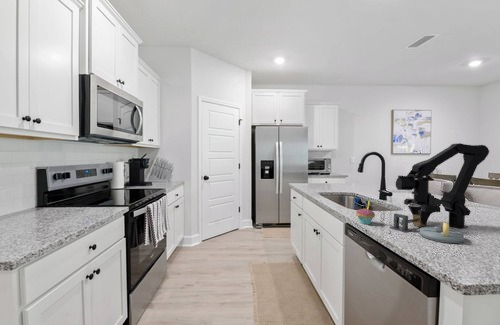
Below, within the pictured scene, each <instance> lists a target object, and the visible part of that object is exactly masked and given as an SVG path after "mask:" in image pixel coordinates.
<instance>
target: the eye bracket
mask: <svg viewBox="0 0 500 325" xmlns="http://www.w3.org/2000/svg"><path fill="white" fill-rule="evenodd" d="M400 218H401V219H402V225H401V226H400V223H399V222H400ZM408 220H409V215H406V214H401V213H393V225H392V226H389V229H392V230H395V231H398V232H402V233H409V232H413V229H411V228H409V223H408Z"/></svg>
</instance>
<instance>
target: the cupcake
mask: <svg viewBox="0 0 500 325" xmlns="http://www.w3.org/2000/svg"><path fill="white" fill-rule="evenodd" d="M370 204H371V199H369V200H368V203H367V208H359V209H357V210H356V211H355V216H356V217H357V218H358V220H359V223H360V224H362V225H366V226H367V225H371V223H372V221H373V219H374V218H375V217H376V213H375V212H374V211H373V210H371V209H369V208H370Z"/></svg>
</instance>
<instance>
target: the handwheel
mask: <svg viewBox="0 0 500 325" xmlns="http://www.w3.org/2000/svg"><path fill="white" fill-rule="evenodd" d="M419 235H420V236H421V237H423V238H426V239H428V240H431V241H436V242H440V243H441V242H442V243H449V244H460V243H464V240H465V234H464V233H461V232H460V231H456V230H453V229H450V226H449V222H443V223H442V227H438V226H422V227H421V228H420V227H419Z"/></svg>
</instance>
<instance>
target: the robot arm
mask: <svg viewBox="0 0 500 325" xmlns="http://www.w3.org/2000/svg"><path fill="white" fill-rule="evenodd" d="M458 154H460V155H462V158H463V164H462V165H461V168H460V170H459V173H458V175H457V177H456V179H455V181H454V182H453V183H454V184H453V186H452V188H451V190H450V191H448V192H447V191H444V192H443V194H442V197H441V198H437V197H435V195H432V193H431V192H429V190H430V188H429V182H430V181H431V182H434V181H435V180H434V178H432V177H431V174H432V173H433V172H435V170H436V169H437V167H439V166H440V165H442V164H443V163H444V162H446V161H448V160H450V159H451V158H453V157H455V156H456V155H458ZM489 154H490V149H489V148H488V146H486V145H485V144H474V145H473V144H465V143H461V142H460V143H452V144H450V145H449V146H448V147H446V148H444V149H443V150H442V151H439V152H438V153H436V154H435V155H433V156H431V157H430V158H428V159H425V160H422V161H419V162H417V163H414V164H413V165H412V167H411V170H410V171H409V172H408V173H407V175H398V176H397V179H396V181H395V188H396V190H398V191H411V194H412V195H413V198H405V199H404V200H403V205H406V206H407V207H408V209H409V211H410V213H411V215H412V216H413V214H418V213H419V214H420V218H421V221H422V224H423V225H426V223H427V224H428V220H429V218H430V217H431V215H432V214H433V213H441V206H442V207H443V209H444V211H445V212H447V213H448V223H449V227H452V228H456V229H460V230H461V229H467V228H469V226H468V225H466V224H465V223H466V222H465V219H466V217H467V216H470V214H471V212H472V211H471V210H470V209H469V208H468V207H467V206H466V205H465V204H466V195H465V194H466V191H467V189H468V187H469V185H470V183H471V182H472V181H471V180H472V179H473V177H474V175H475V172H476V169H477V168H478V166H479V165H480V164H481V163H483V162H484V161H485V160H486V158H487V157H488V156H489ZM412 190H413V191H412Z"/></svg>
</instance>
